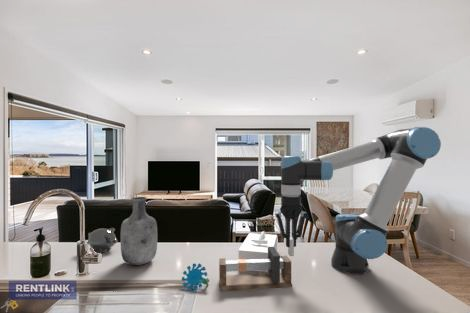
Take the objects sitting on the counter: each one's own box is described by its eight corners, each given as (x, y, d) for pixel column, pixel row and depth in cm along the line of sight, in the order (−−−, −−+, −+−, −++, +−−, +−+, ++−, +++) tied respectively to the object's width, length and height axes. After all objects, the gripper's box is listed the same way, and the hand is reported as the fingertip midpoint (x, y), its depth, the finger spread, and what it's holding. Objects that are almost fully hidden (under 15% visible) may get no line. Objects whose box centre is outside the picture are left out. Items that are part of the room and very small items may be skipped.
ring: (273, 270, 110) (273, 246, 110) (279, 282, 100) (279, 256, 100) (267, 271, 110) (267, 246, 109) (273, 282, 100) (273, 256, 99)
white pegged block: (238, 269, 116) (238, 244, 116) (249, 249, 140) (249, 228, 140) (271, 273, 113) (271, 247, 112) (277, 251, 137) (277, 230, 137)
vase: (112, 267, 118) (111, 200, 118) (136, 254, 134) (135, 194, 133) (143, 272, 113) (142, 202, 113) (164, 257, 129) (163, 196, 128)
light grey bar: (284, 265, 107) (284, 257, 107) (287, 269, 103) (287, 260, 103) (222, 268, 105) (222, 260, 104) (222, 272, 101) (222, 263, 101)
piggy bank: (111, 255, 132) (111, 232, 132) (82, 254, 133) (81, 232, 133) (122, 247, 144) (121, 226, 143) (94, 247, 144) (94, 225, 144)
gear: (176, 284, 100) (189, 259, 106) (181, 289, 104) (193, 265, 110) (201, 294, 95) (213, 267, 101) (205, 299, 99) (217, 273, 105)
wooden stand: (285, 275, 110) (285, 253, 110) (292, 287, 100) (292, 264, 100) (219, 278, 108) (219, 256, 108) (220, 291, 98) (219, 267, 98)
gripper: (303, 193, 109) (303, 250, 109) (272, 194, 108) (272, 251, 108) (310, 196, 102) (310, 258, 102) (276, 197, 100) (277, 259, 101)
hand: (290, 254), depth 105 cm, fingers closed
